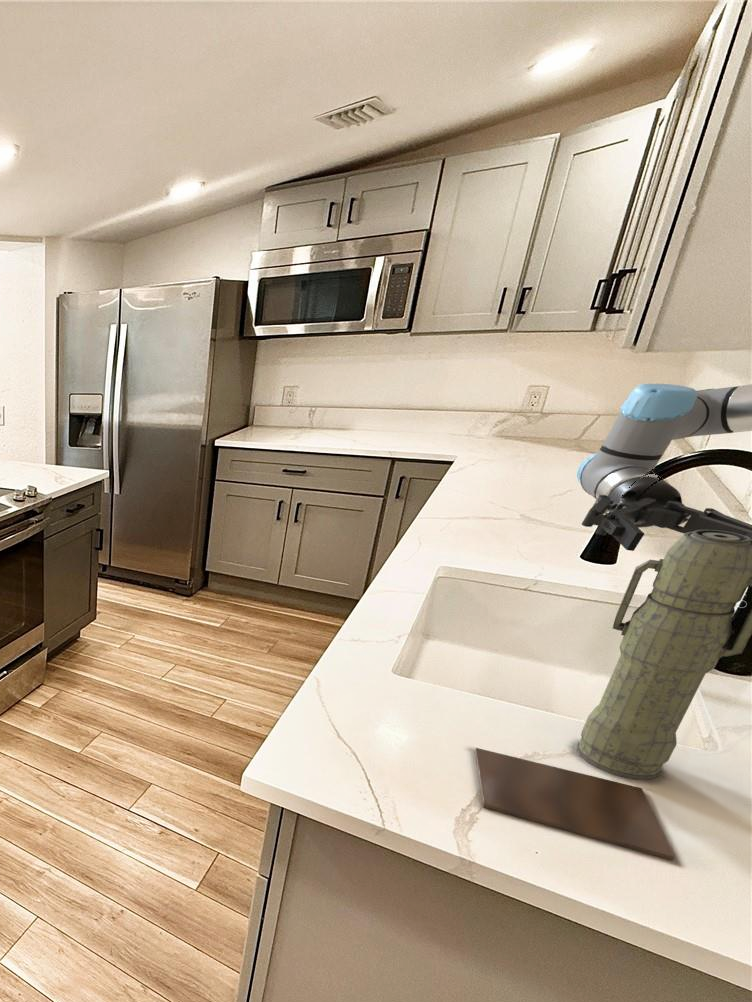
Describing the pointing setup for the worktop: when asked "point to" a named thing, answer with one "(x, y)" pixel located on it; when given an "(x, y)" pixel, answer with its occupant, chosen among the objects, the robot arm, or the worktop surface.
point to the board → (570, 802)
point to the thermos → (668, 651)
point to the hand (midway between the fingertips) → (701, 551)
